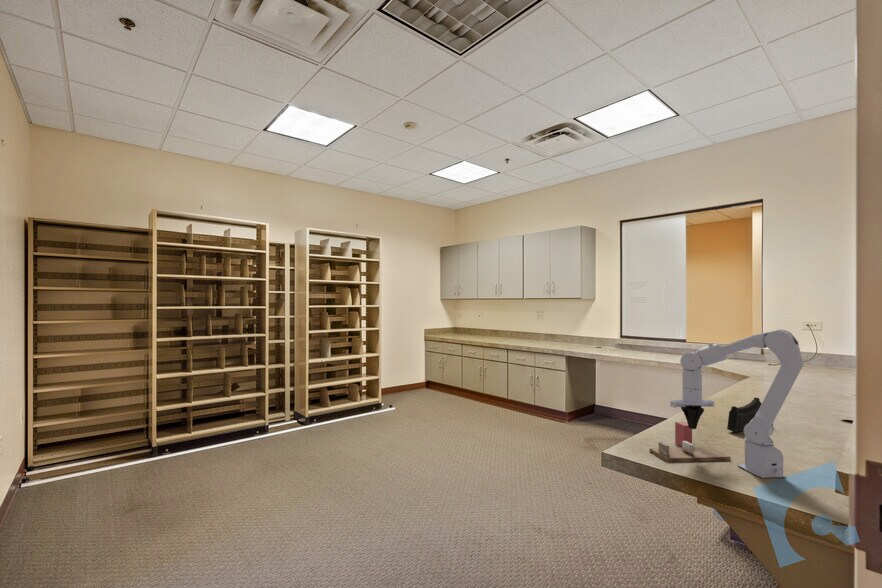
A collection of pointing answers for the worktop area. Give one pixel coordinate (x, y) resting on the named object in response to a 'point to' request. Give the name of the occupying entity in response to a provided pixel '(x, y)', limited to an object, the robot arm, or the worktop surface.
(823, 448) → the worktop surface
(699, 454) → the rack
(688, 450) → the sliding bookend
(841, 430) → the worktop surface
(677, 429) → the book
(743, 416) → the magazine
